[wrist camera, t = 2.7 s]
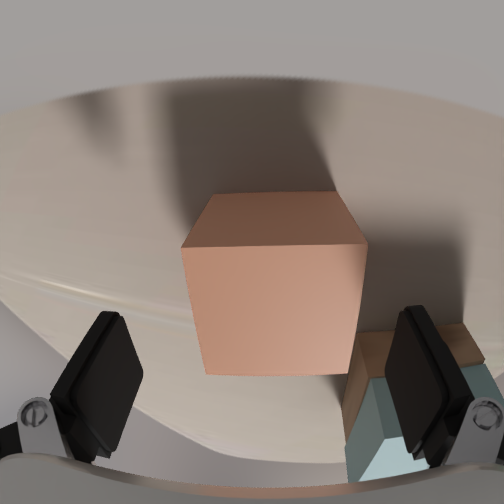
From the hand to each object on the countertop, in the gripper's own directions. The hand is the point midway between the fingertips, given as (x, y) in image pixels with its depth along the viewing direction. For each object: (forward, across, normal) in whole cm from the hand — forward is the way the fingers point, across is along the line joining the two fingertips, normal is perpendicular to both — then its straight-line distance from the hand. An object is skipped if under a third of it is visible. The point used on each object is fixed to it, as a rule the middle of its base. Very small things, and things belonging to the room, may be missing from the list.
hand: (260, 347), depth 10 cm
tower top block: (+3, -10, +10) cm, 14 cm away
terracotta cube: (+7, -1, 0) cm, 7 cm away
